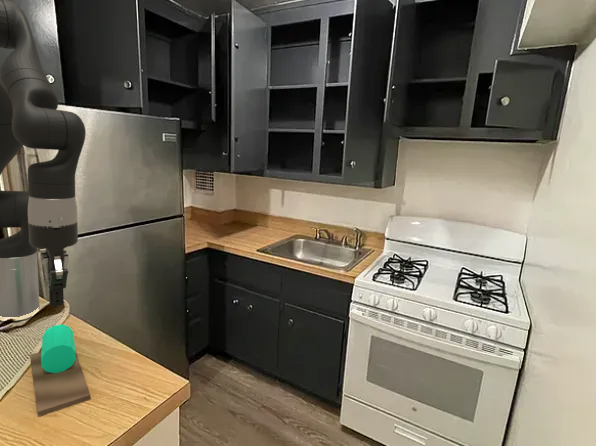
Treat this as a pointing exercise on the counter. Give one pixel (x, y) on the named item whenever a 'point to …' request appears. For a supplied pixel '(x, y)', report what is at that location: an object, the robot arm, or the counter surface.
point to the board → (57, 386)
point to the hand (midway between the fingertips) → (56, 304)
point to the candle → (58, 349)
